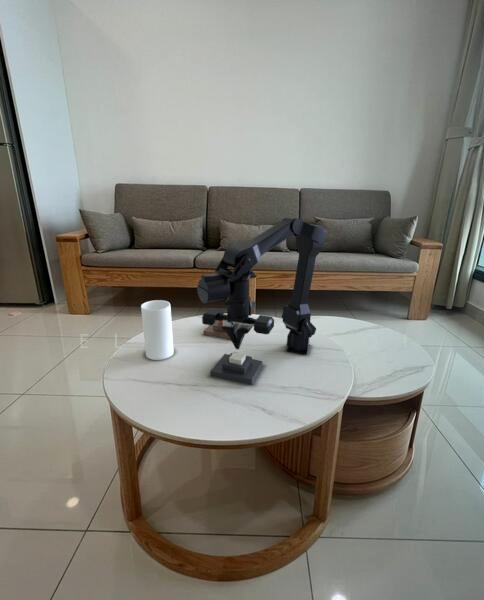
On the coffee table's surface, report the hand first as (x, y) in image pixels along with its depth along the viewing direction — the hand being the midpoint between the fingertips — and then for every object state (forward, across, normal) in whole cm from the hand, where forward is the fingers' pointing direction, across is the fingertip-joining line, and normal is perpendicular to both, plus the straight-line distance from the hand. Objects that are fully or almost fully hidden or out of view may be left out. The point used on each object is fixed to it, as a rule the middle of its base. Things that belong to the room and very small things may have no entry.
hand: (237, 348), depth 89 cm
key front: (+4, 0, 0) cm, 4 cm away
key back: (+4, +13, -22) cm, 26 cm away
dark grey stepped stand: (+7, 0, 0) cm, 7 cm away
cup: (+7, +26, -1) cm, 27 cm away
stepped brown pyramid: (+7, +13, -22) cm, 26 cm away
